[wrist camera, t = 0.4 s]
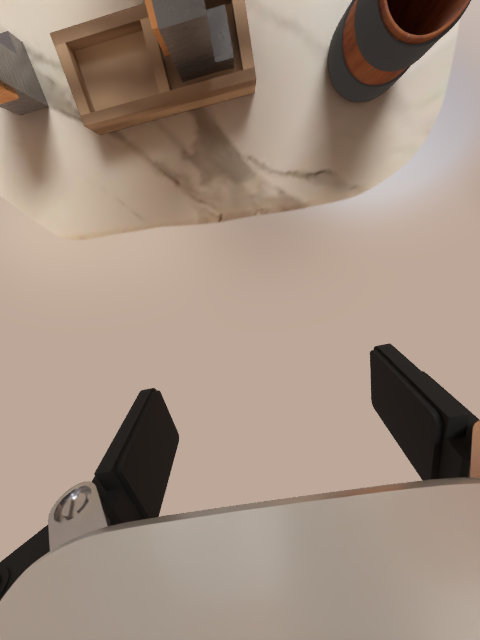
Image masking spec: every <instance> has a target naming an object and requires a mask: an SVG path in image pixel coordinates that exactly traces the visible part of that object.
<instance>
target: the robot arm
mask: <svg viewBox="0 0 480 640" xmlns="http://www.w3.org/2000/svg"><path fill="white" fill-rule="evenodd" d="M370 366H371V399H372V404H373V407H374V409H375V410H376V412H377V413H378V415H379V416H380V418H381V419H382V421H383V422H384V424H385V425H386V427H387V428H388V430H389V431H390V433H391V434H392V436H393V437H394V439H395V440H396V442H397V443H398V445H399V446H400V448H401V449H402V450H403V452H404V453H405V455H406V456H407V458H408V459H409V461H410V462H411V464H412V465H413V467H414V468H415V469H416V471H417V473H418V474H419V476H420V477H421V479H422V480H423V481H416V482H408V483H398V484H390V485H382V486H374V487H367V488H360V489H352V490H344V491H337V492H329V493H322V494H314V495H307V496H300V497H293V498H286V499H278V500H271V501H264V502H257V503H250V504H243V505H236V506H229V507H222V508H215V509H208V510H202V511H195V512H188V513H181V514H174V515H167V516H161V517H158V516H159V513H160V509H161V505H162V502H163V498H164V494H165V490H166V487H167V483H168V479H169V476H170V471H171V468H172V464H173V461H174V457H175V453H176V450H177V446H178V442H179V434H178V432H177V429H176V427H175V425H174V422H173V420H172V418H171V415H170V413H169V411H168V409H167V406H166V404H165V402H164V399H163V397H162V395H161V393H160V391H157V390H156V389H155V388H152V389H147V390H142V391H140V393H139V395H138V396H137V398H136V400H135V402H134V404H133V405H132V407H131V409H130V411H129V413H128V415H127V416H126V418H125V420H124V421H123V423H122V425H121V427H120V429H119V430H118V432H117V434H116V436H115V438H114V439H113V441H112V443H111V445H110V447H109V448H108V450H107V452H106V454H105V456H104V457H103V459H102V461H101V463H100V465H99V466H98V468H97V470H96V472H95V477H94V479H93V480H92V482H82V483H79V484H77V485H75V486H74V487H72V488H70V489H69V490H68V491H66V492H65V493H64V494H63V495H62V496H61V497H60V498H59V499H58V500H57V501H56V503H55V504H54V506H53V507H52V509H51V511H50V514H49V519H48V525H47V526H46V527H44V528H43V529H42V530H41V531H39V532H38V533H37V534H35V535H34V536H33V537H32V538H30V539H29V540H28V541H27V542H25V543H24V544H23V545H21V546H20V547H19V548H18V549H16V550H15V551H14V552H13V553H11V554H10V555H9V556H8V557H6V558H5V559H4V560H2V561H1V562H0V640H480V420H479V419H478V418H477V417H476V416H475V415H473V414H472V413H471V412H470V411H469V410H468V409H466V408H465V407H464V406H463V405H462V404H461V403H460V402H459V401H457V400H456V399H455V398H454V397H453V396H452V395H451V394H449V393H448V392H447V391H446V390H445V389H444V388H442V387H441V386H440V385H439V384H438V383H437V382H436V381H435V380H433V379H432V378H431V377H430V376H429V375H428V374H426V373H425V372H423V371H421V370H419V369H418V368H417V367H416V366H415V365H414V364H413V363H412V362H410V361H409V360H408V359H407V358H406V357H405V356H404V355H403V354H401V353H400V352H399V351H398V350H397V349H396V348H395V347H393V346H392V345H391V344H385V345H379V346H375V347H374V350H372V351H371V352H370Z"/></svg>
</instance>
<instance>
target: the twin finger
mask: <svg viewBox="0 0 480 640" xmlns="http://www.w3.org/2000/svg"><path fill="white" fill-rule="evenodd" d="M145 4H146V8H147V12H148V16H149V20H150V23H151V27H152V30H153V32H154V34H155V36H156V39H157V41H158V43H159V45H160V47H161V49H162V51H163V53H164V55H165V57H166V56H169V55H170V56H171V58H172V60H173V62H174V64H175V67H176V69H177V71H178V73H179V76H180V78H181V80H182V82H184V81H188V80H191V79H195V78H198V77H202V76H206V75H209V74H213V73H216V72H220V71H223V70H227V69H230V68H234V56H233V50H232V44H231V38H230V32H229V26H228V20H227V14H226V8H225V4H224V5H221V6H218V7H214V8H211V9H208V10H206V8H205V3H204V0H145Z"/></svg>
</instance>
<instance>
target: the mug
mask: <svg viewBox="0 0 480 640" xmlns="http://www.w3.org/2000/svg"><path fill="white" fill-rule="evenodd" d="M470 1H471V0H353V1H352V2H351V4H350V5H349V7H348V9H347V10H346V12H345V13H344V15H343V17H342V19H341V20H340V22H339V24H338V26H337V28H336V30H335V32H334V35H333V37H332V40H331V44H330V48H329V54H328V69H329V74H330V78H331V81H332V83H333V85H334V87H335V89H336V90H337V91H338V93H339V94H340V95H341V96H342V97H344V98H345V99H347V100H350V101H353V102H366V101H370V100H372V99H375V98H376V97H378V96H380V95H381V94H382V93H384V92H385V91H386V90H387V89H389V88H390V87H391V86H392V85H393V84H394V83H395V82H396V81H397V80H398V79H399V78H400V77H401V76H402V75H403V74H404V73H405V72H406V71H407V69H408V68H409V67H410V66H411V65H412V64H414V63H415V62H416V61H417V60H419V59H420V58H421V57H422V56H423V55H424V54H425V53H426V52H427V51H428V50H429V49H430V48H431V47H432V46H433V45H434V44H435V43H436V42H437V41H438V40H439V39H440V38H441V37H442V36H444V35H445V34H446V33H447V32H448V31H449V30H450V29H451V28H452V27H453V26H454V25H455V24H456V23H457V21H458V20H459V19H460V18H461V16H462V15H463V13H464V12H465V10H466V8H467V7H468V5H469V3H470Z"/></svg>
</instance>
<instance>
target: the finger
mask: <svg viewBox="0 0 480 640" xmlns="http://www.w3.org/2000/svg"><path fill="white" fill-rule="evenodd" d="M0 107H2V108H4V109H6V110H9V111H11V112H13V113H15V114H18V115H22V114H25V113H29V112H32V111H36V110H39V109H43V108H46V107H49V106H48V104H47V101H46V99H45V96H44V94H43V91H42V89H41V86H40V84H39V82H38V79H37V77H36V74H35V72H34V69H33V67H32V64H31V62H30V59H29V57H28V55H27V52H26V50H25V47H24V45H23V42H21V41H20V40H19V39H17V38H16V37H15V36H14V35H12V34H11V33H10V32H8V31H7V32H3V33H0Z"/></svg>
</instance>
